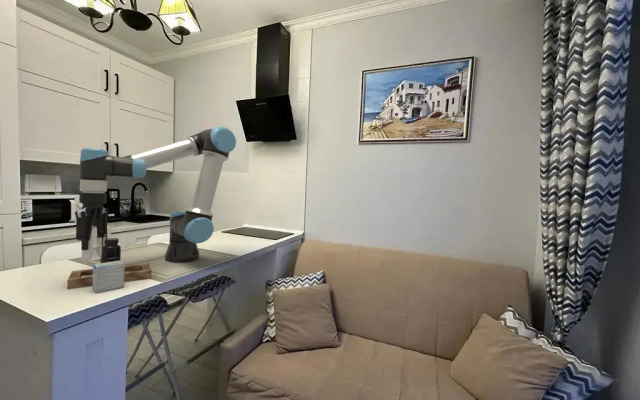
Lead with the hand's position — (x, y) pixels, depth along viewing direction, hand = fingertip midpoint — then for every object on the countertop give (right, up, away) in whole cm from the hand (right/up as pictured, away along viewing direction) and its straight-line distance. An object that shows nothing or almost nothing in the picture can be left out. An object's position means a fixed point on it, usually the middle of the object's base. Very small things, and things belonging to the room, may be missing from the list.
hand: (91, 256), depth 100 cm
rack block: (+5, -9, +4) cm, 11 cm away
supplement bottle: (-6, -8, +17) cm, 20 cm away
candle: (0, -1, 0) cm, 1 cm away
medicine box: (+10, -10, -5) cm, 15 cm away
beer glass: (-19, -7, +28) cm, 34 cm away
